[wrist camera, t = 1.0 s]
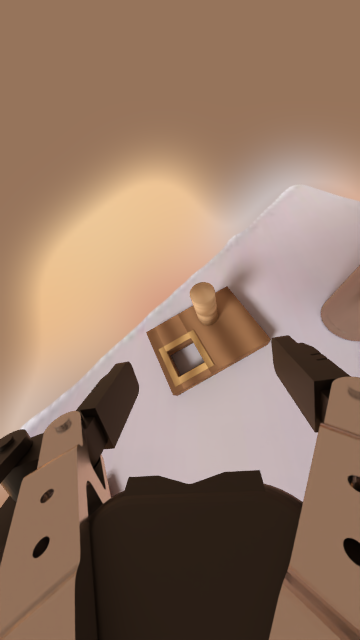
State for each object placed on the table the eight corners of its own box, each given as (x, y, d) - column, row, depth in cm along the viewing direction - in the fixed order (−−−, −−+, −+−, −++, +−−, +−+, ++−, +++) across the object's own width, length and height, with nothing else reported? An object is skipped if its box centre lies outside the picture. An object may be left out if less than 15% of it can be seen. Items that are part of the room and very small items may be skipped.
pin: (211, 304, 38) (206, 278, 30) (221, 319, 36) (219, 295, 28) (194, 314, 38) (185, 290, 30) (204, 329, 36) (197, 307, 28)
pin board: (227, 293, 42) (227, 285, 39) (267, 344, 35) (271, 339, 32) (151, 337, 42) (145, 332, 39) (177, 395, 35) (172, 394, 32)
